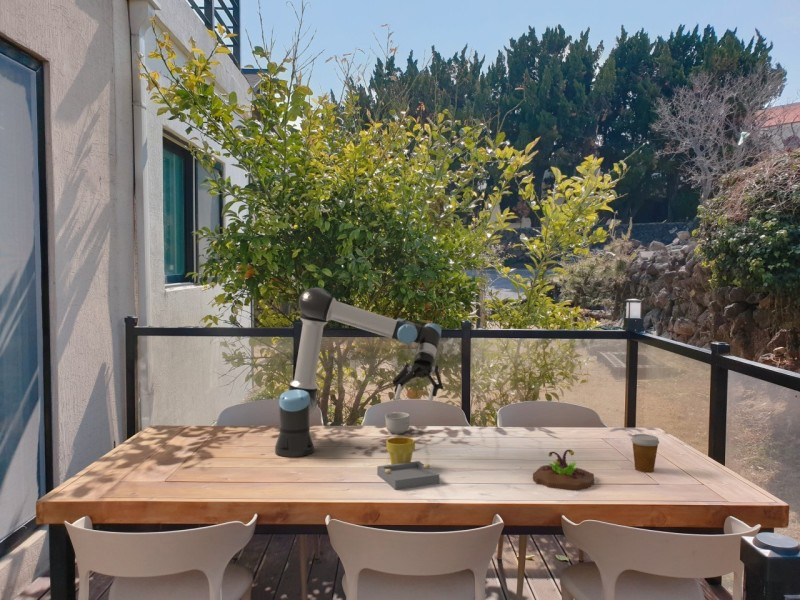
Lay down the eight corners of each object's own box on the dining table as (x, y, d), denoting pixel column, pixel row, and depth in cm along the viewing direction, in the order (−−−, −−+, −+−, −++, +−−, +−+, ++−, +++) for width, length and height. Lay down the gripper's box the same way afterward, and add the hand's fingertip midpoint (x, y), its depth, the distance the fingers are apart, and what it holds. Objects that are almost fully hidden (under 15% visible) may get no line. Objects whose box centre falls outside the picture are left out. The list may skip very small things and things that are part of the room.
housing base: (394, 489, 198) (394, 477, 198) (376, 474, 213) (376, 463, 213) (439, 483, 205) (439, 471, 205) (419, 469, 220) (419, 458, 220)
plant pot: (381, 469, 219) (382, 442, 219) (392, 461, 229) (392, 435, 228) (409, 472, 216) (409, 445, 215) (418, 464, 225) (418, 438, 225)
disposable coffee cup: (657, 467, 225) (658, 435, 224) (659, 475, 216) (660, 441, 215) (629, 464, 228) (630, 432, 227) (630, 472, 219) (631, 439, 218)
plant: (584, 495, 196) (585, 461, 195) (526, 484, 206) (527, 451, 206) (600, 478, 213) (601, 446, 212) (545, 468, 223) (546, 438, 223)
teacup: (409, 435, 266) (409, 417, 265) (384, 435, 266) (384, 417, 266) (409, 427, 280) (409, 410, 279) (385, 427, 280) (385, 410, 280)
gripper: (457, 364, 242) (446, 409, 229) (398, 361, 252) (385, 404, 238) (453, 352, 237) (442, 397, 224) (393, 350, 246) (379, 393, 233)
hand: (412, 401), depth 231 cm, fingers open, 13 cm apart
